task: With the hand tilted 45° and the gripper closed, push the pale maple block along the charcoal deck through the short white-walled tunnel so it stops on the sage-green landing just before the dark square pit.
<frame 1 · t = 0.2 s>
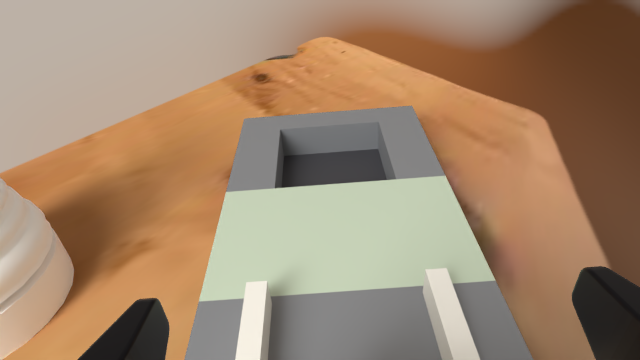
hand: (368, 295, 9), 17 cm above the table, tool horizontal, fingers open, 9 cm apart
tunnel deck: (346, 313, 28), on the table
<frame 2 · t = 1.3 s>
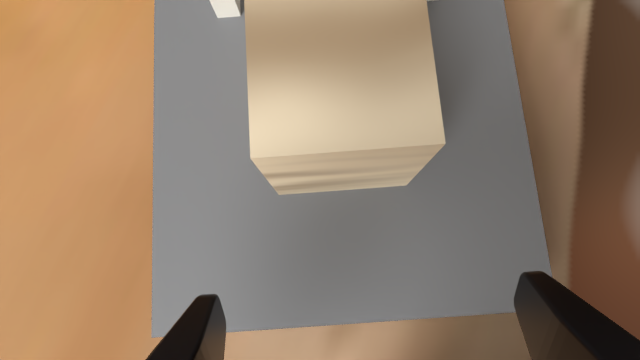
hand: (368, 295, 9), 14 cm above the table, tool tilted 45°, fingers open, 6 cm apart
maple block: (335, 109, 20), point 3 cm above the table, touching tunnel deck
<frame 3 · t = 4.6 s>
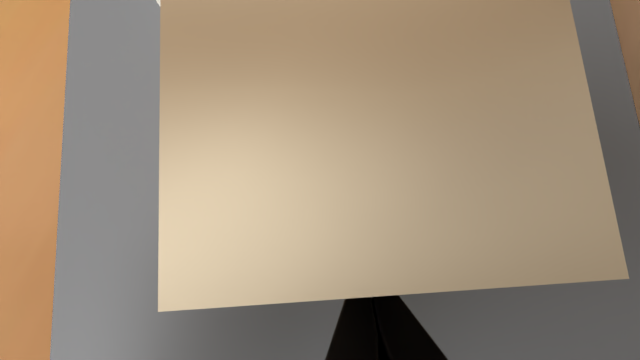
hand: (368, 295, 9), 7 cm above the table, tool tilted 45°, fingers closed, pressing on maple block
maple block: (347, 146, 13), point 4 cm above the table, touching gripper
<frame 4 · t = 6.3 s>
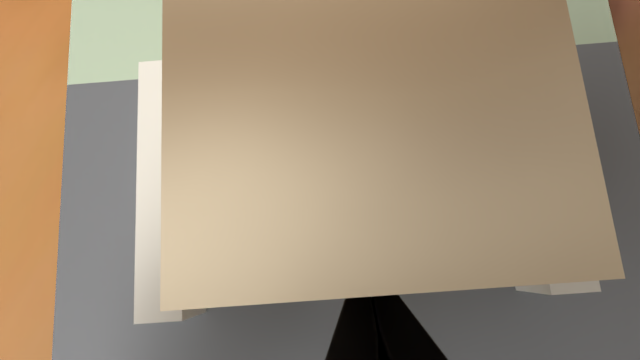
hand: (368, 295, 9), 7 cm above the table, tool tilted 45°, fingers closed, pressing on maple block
maple block: (346, 147, 13), point 4 cm above the table, touching gripper
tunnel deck: (336, 81, 17), on the table
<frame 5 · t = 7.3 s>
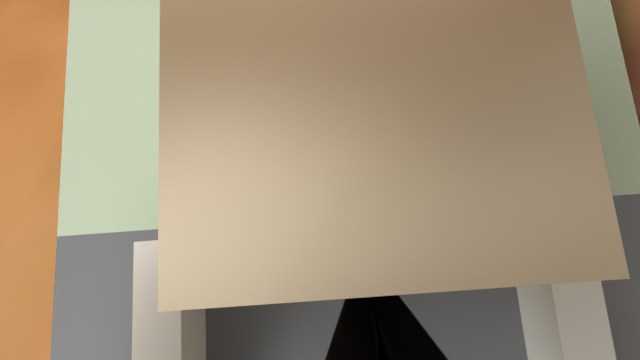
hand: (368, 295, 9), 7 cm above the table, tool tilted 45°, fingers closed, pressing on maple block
maple block: (347, 146, 13), point 4 cm above the table, touching gripper
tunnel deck: (346, 199, 16), on the table
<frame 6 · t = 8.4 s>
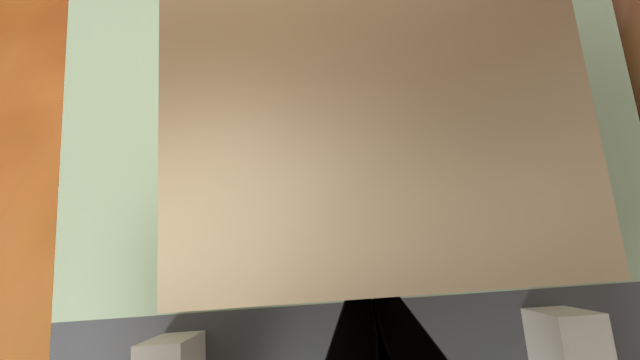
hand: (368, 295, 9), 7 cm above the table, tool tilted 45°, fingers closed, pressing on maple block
maple block: (347, 145, 13), point 3 cm above the table, touching gripper, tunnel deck
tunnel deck: (351, 265, 16), on the table
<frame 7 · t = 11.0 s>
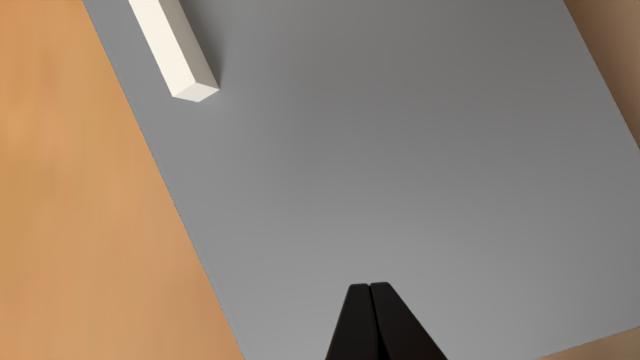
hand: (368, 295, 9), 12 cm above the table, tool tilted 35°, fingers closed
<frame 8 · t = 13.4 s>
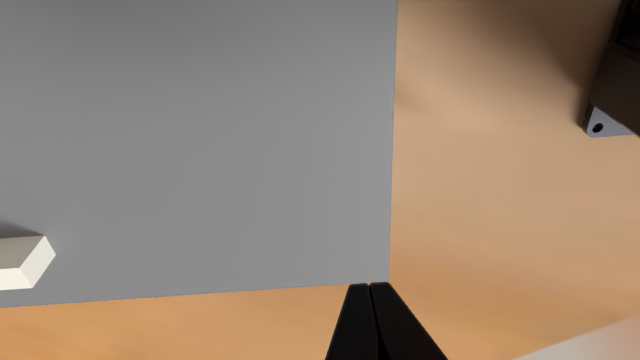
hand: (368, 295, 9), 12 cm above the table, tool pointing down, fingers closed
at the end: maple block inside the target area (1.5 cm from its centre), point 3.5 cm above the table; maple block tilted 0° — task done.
